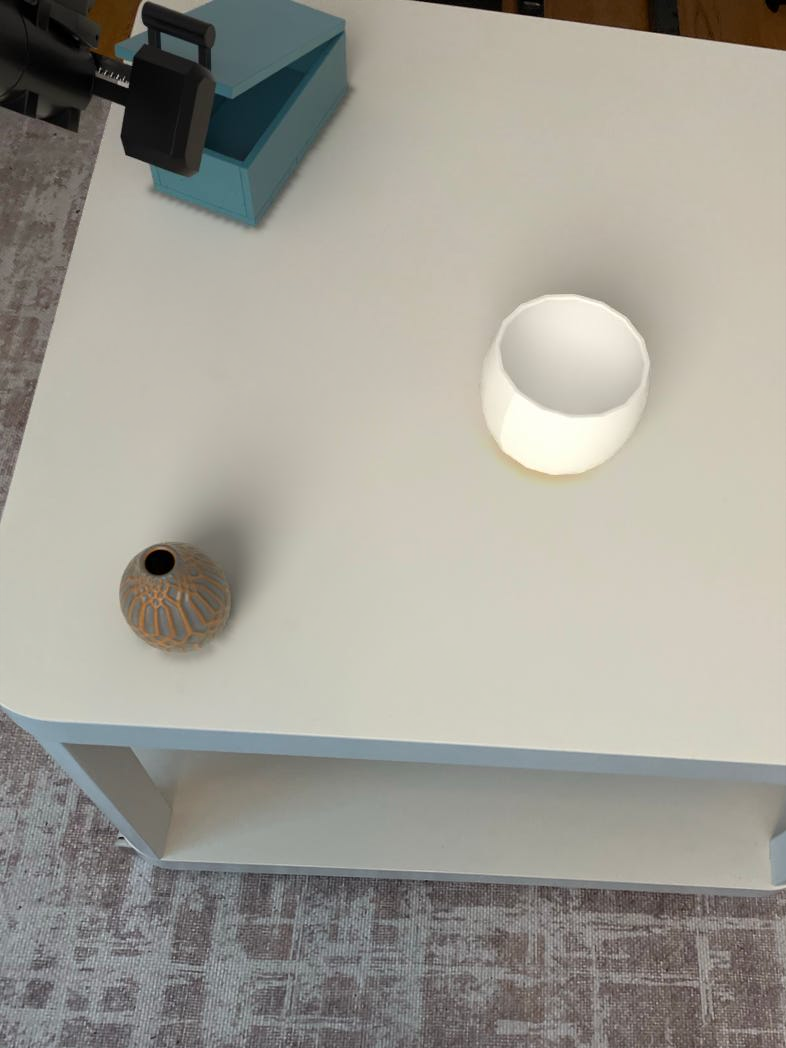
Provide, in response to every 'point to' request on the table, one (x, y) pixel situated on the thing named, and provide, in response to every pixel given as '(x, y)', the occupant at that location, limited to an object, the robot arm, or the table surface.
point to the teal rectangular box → (262, 135)
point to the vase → (175, 597)
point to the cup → (564, 383)
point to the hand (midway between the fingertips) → (131, 104)
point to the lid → (235, 37)
